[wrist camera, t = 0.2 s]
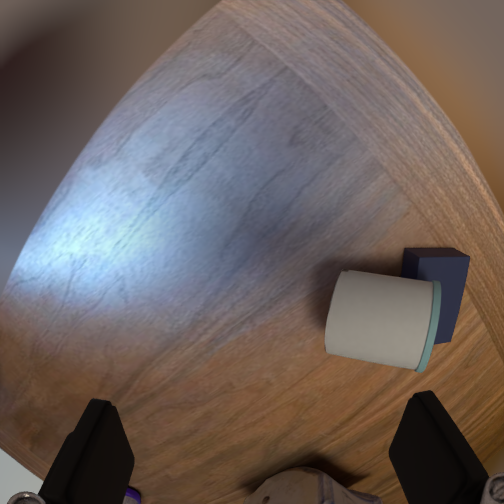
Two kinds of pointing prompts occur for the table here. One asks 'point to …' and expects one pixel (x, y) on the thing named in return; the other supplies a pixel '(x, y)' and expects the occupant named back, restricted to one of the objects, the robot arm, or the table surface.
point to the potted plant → (307, 490)
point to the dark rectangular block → (450, 276)
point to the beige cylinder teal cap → (383, 319)
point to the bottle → (132, 497)
